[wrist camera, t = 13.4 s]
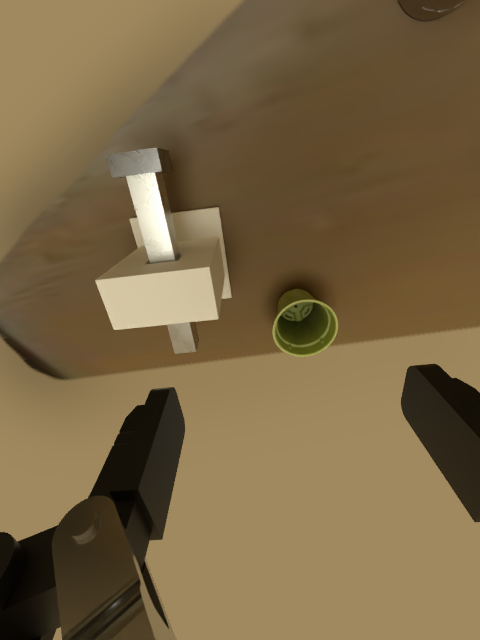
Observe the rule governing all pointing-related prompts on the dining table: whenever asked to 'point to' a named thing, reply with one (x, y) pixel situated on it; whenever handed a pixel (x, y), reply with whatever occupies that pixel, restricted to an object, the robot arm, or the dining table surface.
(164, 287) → the bracket
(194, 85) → the dining table surface
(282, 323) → the plant pot
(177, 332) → the shaft
